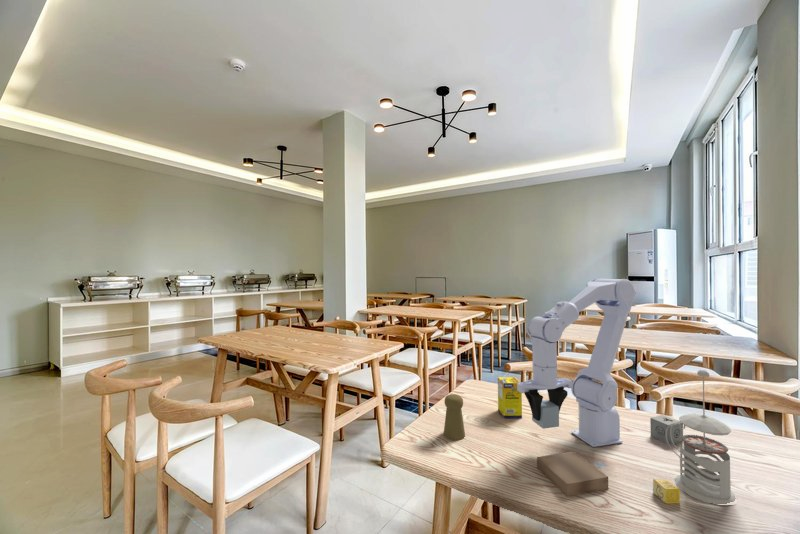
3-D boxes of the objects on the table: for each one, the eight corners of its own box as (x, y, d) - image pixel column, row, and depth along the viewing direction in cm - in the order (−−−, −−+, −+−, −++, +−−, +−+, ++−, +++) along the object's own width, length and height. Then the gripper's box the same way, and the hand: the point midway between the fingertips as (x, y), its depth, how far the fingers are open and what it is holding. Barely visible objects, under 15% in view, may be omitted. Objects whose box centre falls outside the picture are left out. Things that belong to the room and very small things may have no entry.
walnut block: (573, 463, 80) (573, 451, 80) (608, 490, 70) (608, 476, 70) (537, 469, 78) (536, 457, 78) (567, 498, 68) (567, 484, 68)
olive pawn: (441, 438, 92) (440, 398, 92) (446, 428, 98) (445, 390, 98) (462, 442, 90) (462, 401, 90) (467, 431, 95) (466, 393, 95)
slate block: (547, 418, 88) (547, 399, 88) (559, 426, 83) (558, 406, 83) (532, 420, 87) (531, 401, 87) (543, 428, 82) (542, 408, 82)
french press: (722, 512, 63) (720, 380, 63) (655, 477, 74) (653, 364, 74) (748, 497, 67) (746, 373, 67) (680, 466, 78) (679, 359, 78)
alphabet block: (667, 492, 69) (666, 478, 69) (680, 503, 66) (680, 488, 66) (652, 493, 69) (652, 478, 69) (665, 504, 66) (665, 488, 66)
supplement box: (522, 418, 103) (522, 382, 103) (503, 418, 103) (502, 383, 103) (516, 409, 109) (515, 376, 109) (497, 410, 109) (497, 376, 109)
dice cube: (683, 441, 89) (682, 422, 89) (670, 445, 87) (670, 425, 87) (662, 432, 93) (662, 414, 93) (650, 435, 92) (650, 417, 92)
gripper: (558, 358, 90) (559, 408, 90) (510, 362, 87) (511, 414, 87) (578, 365, 83) (578, 419, 83) (526, 370, 80) (526, 426, 80)
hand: (545, 417), depth 85 cm, fingers closed on slate block, 4 cm apart
